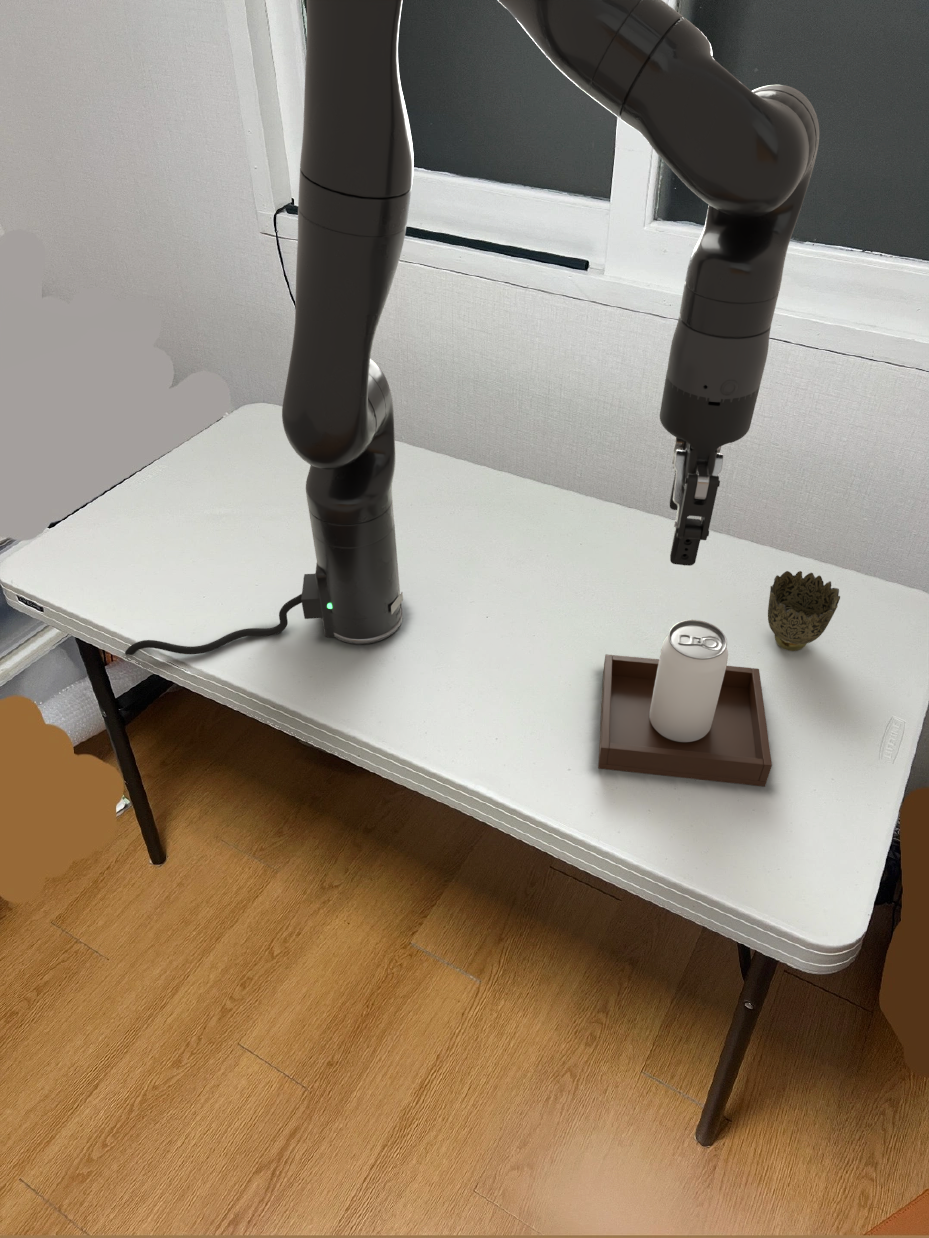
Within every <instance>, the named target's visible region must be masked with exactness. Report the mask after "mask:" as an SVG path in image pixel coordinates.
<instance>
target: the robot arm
mask: <svg viewBox="0 0 929 1238" xmlns="http://www.w3.org/2000/svg"><path fill="white" fill-rule="evenodd" d="M497 2H498V3H500V4H501V5H502V6H503V7H504V8H505V9H506V10H507V11H508V12H509V13H510V14H511V16H512V17H513V18H514V19H515V20H516V21H517V23H519V25H520V26H521V27H522V29H523V30H524V31H525V32H526V34H527V35H528V36H529V38H531V39H532V41H533V42H534V43H535V44H536V46H537V47H538V48H539V49H540V51H541V52H542V53H543V54H544V56H545V57H546V58H547V59H548V60H549V61H550V62H551V63H552V64H553V65H554V66H555V67H556V69H558V70H559V71H560V72H561V73H562V74H563V76H565V78H567V79H569V80H570V81H571V82H572V83H573V84H575V86H576V87H578V88H579V89H580V90H582V91H583V92H584V93H585V94H587V95H588V96H589V97H591V98H592V99H593V100H594V101H596V102H597V103H598V104H599V105H601V106H602V107H604V109H606V110H607V111H609V112H610V113H611V114H613V115H614V116H615V117H617V118H618V119H620V120H621V122H623V123H625V124H626V125H628V126H629V127H631V128H633V129H634V130H635V131H637V132H638V133H640V135H642V137H643V138H644V139H645V140H646V141H647V143H648V144H649V146H650V147H651V148H652V149H653V151H654V152H655V153H656V154H657V155H658V156H659V158H660V159H661V160H662V161H663V162H664V163H665V164H666V165H667V166H668V168H669V169H670V170H671V171H672V172H673V173H674V174H675V175H676V176H677V177H678V179H679V180H680V181H681V182H682V183H683V184H684V185H685V186H686V187H687V188H688V189H689V190H690V191H691V192H692V193H694V194H695V195H696V196H697V197H698V198H699V199H700V200H702V201H703V202H704V203H706V204H708V207H707V212H706V218H705V223H704V226H703V228H702V229H703V230H702V232H701V235H700V236H699V238H698V241H697V242H696V244H695V246H694V248H693V250H692V252H691V255H690V258H689V262H688V266H687V269H686V275H685V279H684V285H683V291H682V297H681V303H680V308H679V315H678V320H677V323H676V327H675V330H674V332H673V336H672V339H671V344H670V350H669V356H668V361H667V368H666V374H665V380H664V381H665V382H664V387H663V391H662V393H663V394H662V398H661V403H660V409H659V420H660V421H659V422H660V423H661V425H662V427H663V428H664V430H666V431H667V432H668V433H669V434H671V435H672V436H673V437H674V441H673V451H672V459H671V461H672V462H671V464H672V469H673V472H674V475H673V482H672V486H671V492H670V497H669V508H670V509H671V510H672V511H676V517H675V520H674V523H673V528H674V533H673V537H672V538H673V539H672V544H671V549H670V554H669V561H670V563H671V564H673V565H680V566H689V567H690V566H694V565H695V563H696V561H697V556H698V551H699V548H700V542H701V541H707V539H708V537H709V536H710V525H711V521H712V516H713V511H714V508H715V507H714V506H715V503H716V498H717V493H718V488H719V487H720V484H721V480H720V476H719V474H720V473H721V471H722V470H723V463H724V453H720V452H721V449H722V447H723V446H724V445H728V444H732V443H735V442H737V441H739V440H741V439H742V438H744V437H745V436H746V435H747V433H748V432H749V431H750V428H751V424H752V420H753V416H754V413H755V408H756V404H757V399H758V396H759V391H760V388H761V387H760V386H761V384H762V380H763V375H764V371H765V367H766V363H767V358H768V354H769V345H770V334H771V329H772V322H773V320H774V319H773V318H774V315H775V311H776V306H777V303H778V298H779V295H780V290H781V286H782V280H783V274H784V268H785V263H786V262H785V261H786V257H787V252H788V249H789V245H790V242H791V239H792V237H793V233H794V231H795V228H796V225H797V222H798V219H799V216H800V213H801V210H802V206H803V204H804V200H805V197H806V194H807V190H808V187H809V185H810V181H811V177H812V174H813V171H814V167H815V162H816V159H817V155H818V150H819V144H820V124H819V119H818V115H817V113H816V112H817V111H816V110H815V108H814V105H812V102H811V101H810V100H809V99H808V97H807V96H805V94H803V92H801V91H800V90H798V89H796V88H794V87H793V86H788V85H785V84H770V85H764V86H761V87H758V88H755V89H753V90H751V89H749V88H748V86H746V85H745V84H744V83H742V82H741V81H740V80H739V79H737V78H736V77H735V76H734V75H733V74H732V73H731V72H730V71H728V69H726V68H725V67H724V66H722V65H721V63H719V62H718V61H717V60H716V59H715V58H714V57H713V49H712V45H711V43H710V41H709V39H708V38H707V36H705V34H704V33H703V32H702V31H701V30H700V29H699V28H698V27H697V26H696V25H695V24H693V23H692V22H691V21H690V20H688V19H687V18H686V17H684V16H683V15H682V14H681V13H679V12H678V11H677V10H676V9H674V8H673V7H671V6H670V5H669V4H668V3H666V2H665V1H664V0H497ZM402 8H403V0H306V48H305V51H306V52H305V67H304V68H305V69H304V91H303V92H304V95H303V96H304V99H303V100H304V101H303V102H304V103H303V104H304V105H303V123H302V127H303V128H302V141H301V152H300V163H299V179H298V180H299V183H298V200H297V201H298V202H297V245H296V267H295V272H296V273H295V309H294V310H295V313H294V314H295V315H294V329H293V338H292V339H293V340H292V348H291V353H290V359H289V363H288V364H289V366H288V372H287V377H286V382H285V389H284V395H283V400H282V407H281V419H282V421H281V422H282V427H283V429H284V434H285V436H286V439H287V441H288V442H289V444H290V446H291V448H292V449H293V451H294V452H295V454H297V455H298V456H299V458H300V459H301V460H303V461H304V462H306V463H307V464H309V465H310V466H309V470H308V472H307V477H306V481H305V495H306V496H305V497H306V502H307V509H308V515H309V520H310V527H311V533H312V539H313V546H314V552H315V553H314V554H315V558H316V559H315V560H316V563H315V564H316V565H315V573H304V574H303V580H302V581H303V582H302V590H301V593H300V594H298V595H297V596H295V597H293V598H291V599H290V600H288V601H287V602H285V603H284V604H283V605H282V606H281V608H280V609H279V612H278V619H279V623H278V624H276V626H273V627H268V628H267V627H265V628H264V627H263V628H262V627H259V628H258V627H252V628H251V627H250V628H241V629H239V630H236V631H233V632H231V633H228V634H226V635H224V636H221V637H220V638H218V639H216V640H214V641H212V642H208V643H205V644H202V645H195V646H188V645H181V644H174V643H170V642H165V641H160V640H155V639H143V640H139V641H137V642H134V643H133V644H131V645H130V646H129V647H128V648H126V650H125V652H124V654H126V655H127V656H130V655H131V656H132V655H133V654H135V653H137V651H139V650H142V649H146V648H147V649H157V650H162V651H165V652H170V653H174V654H180V655H201V654H205V653H206V654H207V653H210V652H213V651H215V650H217V649H219V648H221V647H224V646H225V645H227V644H229V643H231V642H233V641H236V640H238V639H242V638H245V637H246V638H247V637H266V636H274V635H278V634H280V633H282V632H283V631H285V629H286V628H287V626H288V623H289V621H288V613H289V611H290V610H292V609H293V608H295V607H296V606H299V605H300V604H301V606H302V612H303V618H304V619H305V620H313V619H314V620H315V619H322V626H323V632H324V637H326V638H335V639H337V640H339V641H341V642H343V643H348V644H352V645H367V644H368V645H369V644H372V643H377V642H380V641H383V640H386V639H387V638H388V637H390V636H392V635H393V634H394V633H395V632H397V630H398V629H399V628H400V626H401V625H402V622H403V617H404V616H403V607H402V602H403V600H404V596H403V591H401V588H400V587H401V586H400V575H399V574H400V573H399V563H398V551H397V549H398V548H397V536H396V527H395V526H396V525H395V513H394V501H393V481H394V476H395V470H396V437H395V436H396V433H395V413H394V401H393V396H392V390H391V387H390V383H389V382H388V378H387V377H386V375H385V373H384V371H383V370H382V368H380V366H379V365H378V364H377V363H376V362H375V361H374V360H373V359H372V358H371V357H372V349H373V343H374V339H375V336H376V332H377V328H378V327H379V326H378V325H379V322H380V319H381V317H382V314H383V311H384V309H385V308H384V307H385V306H386V303H387V299H388V297H389V294H390V291H391V288H392V285H393V281H394V278H395V275H396V272H397V270H398V266H399V261H400V259H401V256H402V251H403V247H404V242H405V238H406V233H407V227H408V218H409V209H410V204H411V203H410V202H411V195H412V188H413V187H412V186H413V181H414V180H413V179H414V165H415V164H414V163H415V162H414V147H413V139H412V133H411V126H410V121H409V116H408V112H407V107H406V102H405V99H404V94H403V89H402V84H401V78H400V67H399V34H400V22H401V14H402ZM689 517H699V518H689Z"/></svg>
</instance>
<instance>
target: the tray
mask: <svg viewBox="0 0 929 1238" xmlns="http://www.w3.org/2000/svg"><path fill="white" fill-rule="evenodd" d="M658 663H659V658H650V657H649V658H648V657H639V656H629V655H628V656H627V655H619V654H618V655H617V654H607V653H606V654H605V655H604V661H603V669H602V681H601V682H602V684H601V701H600V702H601V703H600V719H599V720H600V721H599V726H600V727H599V740H598V741H599V743H598V744H599V745H598V763H597V768H598V769H599V770H600V769H601V770H607V771H608V770H609V771H618V772H627V773H637V774H645V775H654V776H663V777H673V778H680V779H681V778H682V779H691V780H699V781H700V780H701V781H708V782H709V781H710V782H717V783H718V782H719V783H726V784H727V783H728V784H735V785H736V784H738V785H745V786H755V787H766V785H767V783H768V780H769V777H770V773H771V771H772V768H773V762H772V755H771V748H770V740H769V733H768V732H769V731H768V726H767V725H768V724H767V719H766V711H765V710H766V709H765V703H764V697H763V695H764V694H763V689H762V680H761V673H760V669H759V668H755V667H745V666H736V665H727V666H726V670H725V674H724V678H723V682H722V686H721V690H720V694H719V698H718V702H717V706H716V710H715V714H714V718H713V721H712V725H711V728H710V730H709V732H708V733H707V734H706V735H705V736H704V737H703V738H701V739H699V740H696V741H692V742H676V741H672V740H670V739H667V738H665V737H664V736H662V735H661V734H660V733H658V732H657V731H656V730H655V728H654V727H653V726H652V724H651V721H650V708H651V702H652V696H653V691H654V685H655V680H656V674H657V669H658Z"/></svg>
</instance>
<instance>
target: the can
mask: <svg viewBox="0 0 929 1238" xmlns="http://www.w3.org/2000/svg"><path fill="white" fill-rule="evenodd" d="M658 659H659V663H658V669H657V674H656V680H655V685H654V691H653V696H652V702H651V708H650V721H651V724H652V726H653V727H654V728H655V730H656V731H657V732H658V733H660V734H661V735H662V736H664V737H665V738H667V739H670V740H672V741H676V742H692V741H696V740H699V739H701V738H703V737H704V736H705V735H706V734H707V733H708V732H709V730H710V728H711V725H712V721H713V718H714V714H715V710H716V706H717V702H718V698H719V694H720V690H721V686H722V682H723V678H724V674H725V670H726V666H728V660H729V650H728V639H727V637H726V635H725V633H724V632H723V630H721V629H720V628H719V627H717V626H716V625H714V624H713V623H710V622H708V621H704V620H701V619H686V620H682V621H679V622H677V623H675V624H674V625H673V626H671V628H670V629H669V631H668V634H667V635H666V636H665V638H664V640H663V642H662V644H661V648H660V655H659V658H658Z"/></svg>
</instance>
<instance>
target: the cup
mask: <svg viewBox="0 0 929 1238" xmlns="http://www.w3.org/2000/svg"><path fill="white" fill-rule="evenodd" d="M824 583H825V584H824ZM769 589H770V590H769V597H768V605H767V606H768V607H767V622H768V626H769V628H770V630H771V632H772V633H773V635H774V641H775V643H776V644H777V646H778V647H780V648H781V649H783V650H785V651H789V652H798V651H801V650H802V649H804V648H805V647H806V646H807V644H809V643H812V642H814V641H816V640H817V639H818V638H820V637H821V636H822V634H823V633H824V632H825V630H826V629H827V628H828V625H829V624H830V622H831V620H832V618H833V616H834V614H835V612H836V610H837V608H838V605H839V603H840V600H841V595H839V594H840V589H839V588H838V587H832V581H831V580H829V581H828V582H827V581H826V582H824V580H823V578H822V576H821V575H817V576H815V575H814V573H813V572H809V573H807V574H806V575H805V576H803V571H801V570H799V571H797V572H796V573H795V574H793V573H792V572H791V571H789V570H786V571H784V572H782V574H781V575H777V574H776V575H775V577H774V579H773V584H772V585H770V588H769Z"/></svg>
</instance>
